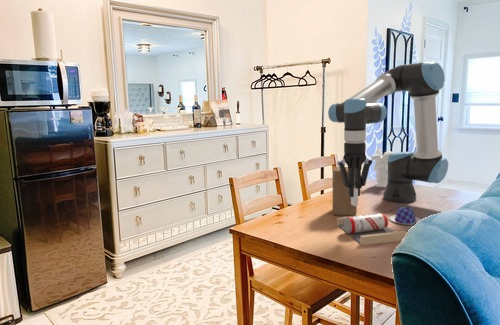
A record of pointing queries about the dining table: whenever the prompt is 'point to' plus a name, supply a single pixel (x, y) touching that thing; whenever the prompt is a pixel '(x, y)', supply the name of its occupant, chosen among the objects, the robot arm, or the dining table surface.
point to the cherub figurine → (381, 167)
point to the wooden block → (342, 195)
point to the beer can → (365, 223)
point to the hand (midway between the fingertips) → (354, 204)
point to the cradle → (374, 235)
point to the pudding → (405, 216)
